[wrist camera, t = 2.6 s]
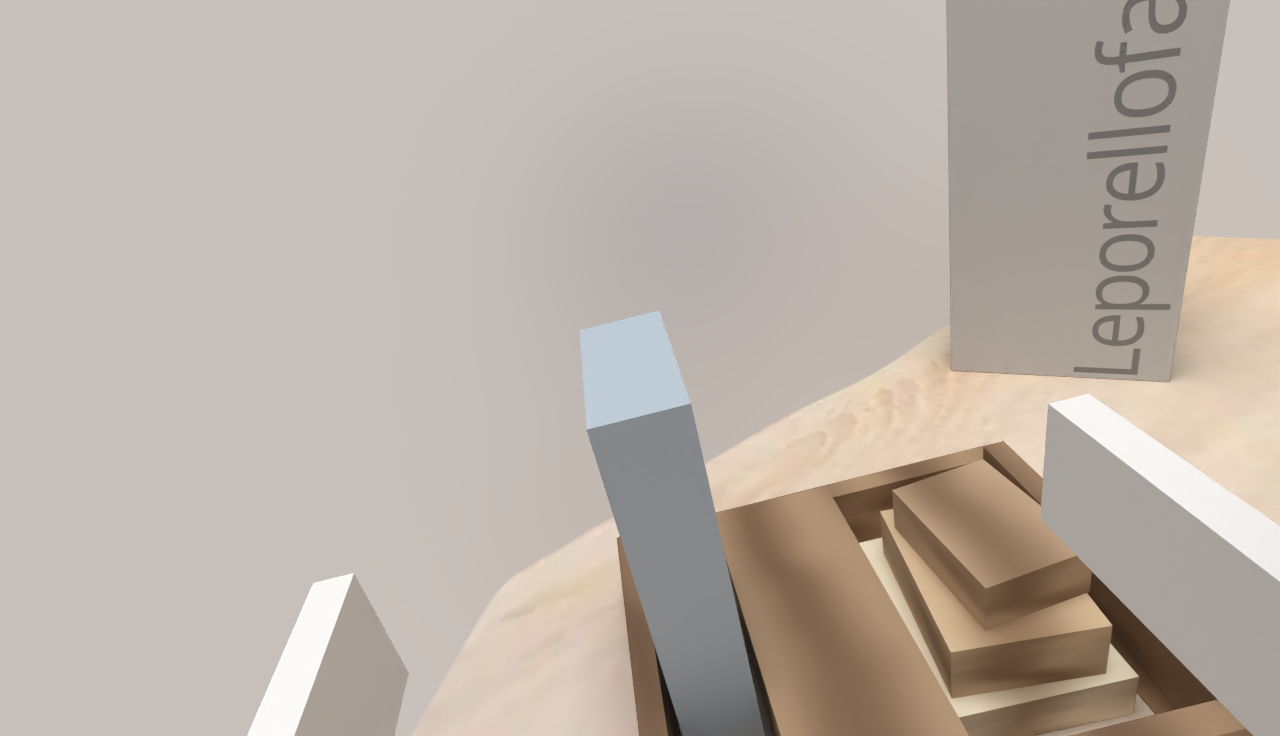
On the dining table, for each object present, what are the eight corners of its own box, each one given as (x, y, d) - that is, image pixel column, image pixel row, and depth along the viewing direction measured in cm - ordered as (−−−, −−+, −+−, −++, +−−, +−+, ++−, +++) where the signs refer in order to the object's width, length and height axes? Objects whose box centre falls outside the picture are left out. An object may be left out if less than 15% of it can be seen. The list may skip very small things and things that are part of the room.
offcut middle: (1003, 531, 37) (1005, 488, 36) (1105, 673, 29) (1112, 625, 28) (883, 553, 38) (880, 511, 37) (951, 698, 30) (950, 652, 29)
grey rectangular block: (732, 629, 39) (658, 310, 30) (772, 766, 32) (691, 403, 22) (672, 644, 39) (579, 330, 30) (698, 784, 32) (586, 429, 22)
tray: (990, 495, 43) (991, 430, 41) (1252, 785, 27) (1279, 704, 25) (634, 584, 43) (615, 524, 41) (680, 925, 27) (653, 857, 25)
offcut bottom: (996, 549, 40) (996, 510, 39) (1131, 721, 30) (1138, 676, 29) (861, 581, 40) (857, 543, 39) (953, 761, 31) (952, 718, 29)
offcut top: (982, 497, 36) (982, 459, 35) (1089, 592, 30) (1094, 549, 29) (894, 528, 35) (892, 490, 34) (984, 630, 29) (985, 588, 28)
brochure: (950, 370, 56) (945, -50, 42) (959, 338, 60) (956, -56, 46) (1169, 381, 49) (1249, -121, 35) (1162, 344, 53) (1231, -121, 39)
